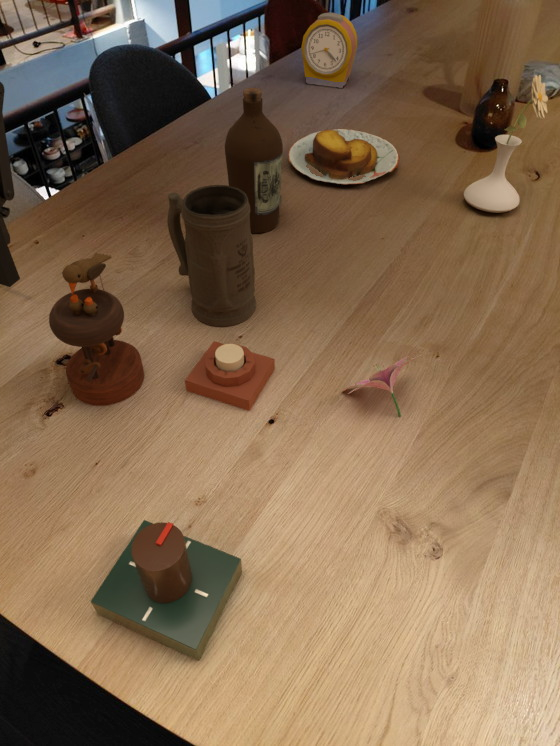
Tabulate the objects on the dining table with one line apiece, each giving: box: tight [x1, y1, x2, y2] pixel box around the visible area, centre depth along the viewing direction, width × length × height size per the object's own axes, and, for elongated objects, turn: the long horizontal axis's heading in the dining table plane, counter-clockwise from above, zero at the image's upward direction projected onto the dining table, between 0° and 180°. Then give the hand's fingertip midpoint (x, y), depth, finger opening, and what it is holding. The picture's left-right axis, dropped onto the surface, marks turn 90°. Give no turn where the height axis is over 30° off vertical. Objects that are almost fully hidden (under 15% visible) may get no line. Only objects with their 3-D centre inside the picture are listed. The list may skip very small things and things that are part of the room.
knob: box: [131, 521, 192, 603], centre depth 56 cm, size 5×5×7 cm
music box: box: [48, 252, 145, 407], centre depth 76 cm, size 15×11×20 cm
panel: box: [90, 519, 243, 662], centre depth 60 cm, size 12×10×3 cm
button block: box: [184, 340, 276, 412], centre depth 82 cm, size 10×9×4 cm
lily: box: [341, 351, 422, 418], centre depth 78 cm, size 12×12×10 cm
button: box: [215, 343, 244, 372], centre depth 80 cm, size 4×4×2 cm
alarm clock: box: [301, 12, 358, 82], centre depth 166 cm, size 15×8×18 cm, turn 72°
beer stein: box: [166, 184, 257, 328], centre depth 89 cm, size 15×11×20 cm
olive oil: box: [224, 87, 284, 234], centre depth 106 cm, size 11×11×25 cm
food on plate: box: [287, 128, 400, 186], centre depth 131 cm, size 25×25×7 cm
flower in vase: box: [463, 74, 549, 214], centre depth 112 cm, size 13×11×25 cm
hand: (4, 279), depth 56 cm, fingers closed
